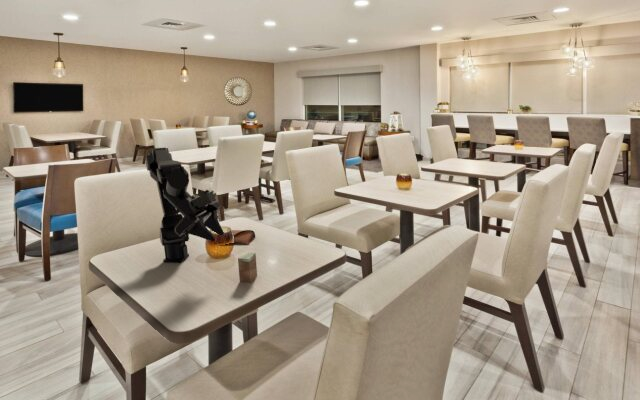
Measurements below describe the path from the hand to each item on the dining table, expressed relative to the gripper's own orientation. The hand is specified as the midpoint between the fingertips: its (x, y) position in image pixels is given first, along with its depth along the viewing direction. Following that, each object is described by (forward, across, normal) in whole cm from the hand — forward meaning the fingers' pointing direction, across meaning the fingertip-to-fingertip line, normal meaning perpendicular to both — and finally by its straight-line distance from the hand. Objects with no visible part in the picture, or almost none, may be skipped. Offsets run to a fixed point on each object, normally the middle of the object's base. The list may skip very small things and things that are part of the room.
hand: (219, 237), depth 125 cm
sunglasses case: (+1, +31, +18) cm, 36 cm away
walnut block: (+15, 0, +3) cm, 15 cm away
